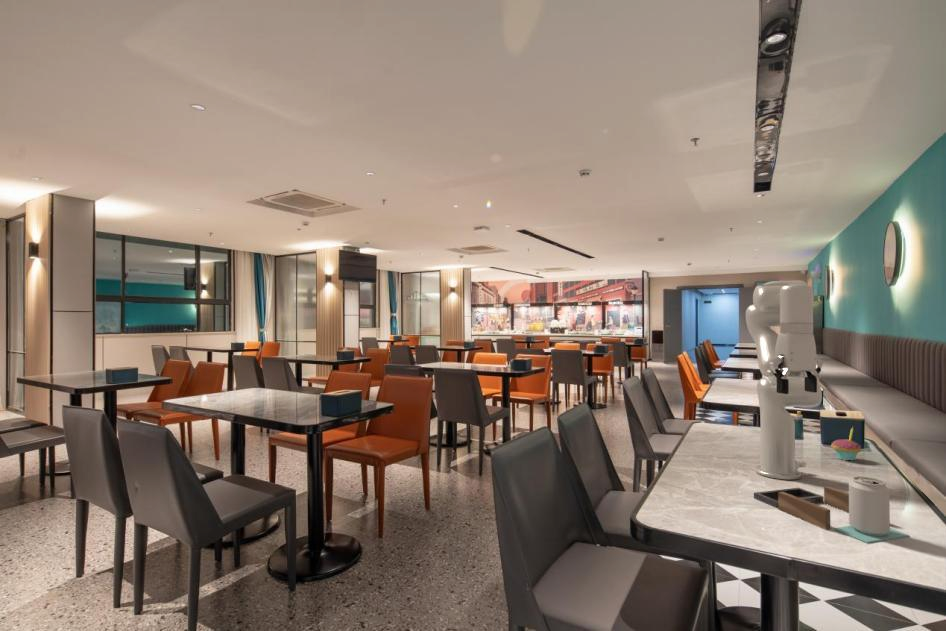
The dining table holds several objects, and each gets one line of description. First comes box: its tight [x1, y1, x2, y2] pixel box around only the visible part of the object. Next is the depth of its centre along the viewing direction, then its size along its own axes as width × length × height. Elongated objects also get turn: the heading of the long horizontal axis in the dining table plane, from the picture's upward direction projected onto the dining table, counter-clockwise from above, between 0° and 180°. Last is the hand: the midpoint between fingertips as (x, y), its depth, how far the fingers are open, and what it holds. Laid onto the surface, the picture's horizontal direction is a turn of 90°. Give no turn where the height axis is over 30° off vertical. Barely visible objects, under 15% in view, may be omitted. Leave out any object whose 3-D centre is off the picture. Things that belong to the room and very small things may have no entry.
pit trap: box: [753, 487, 824, 509], centre depth 136 cm, size 16×8×2 cm, turn 105°
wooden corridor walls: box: [778, 486, 849, 531], centre depth 126 cm, size 17×13×4 cm
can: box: [848, 475, 891, 536], centre depth 116 cm, size 8×8×12 cm
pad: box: [833, 525, 910, 544], centre depth 115 cm, size 13×8×1 cm, turn 105°
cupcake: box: [830, 426, 862, 461], centre depth 176 cm, size 9×8×12 cm
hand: (796, 392), depth 134 cm, fingers open, 9 cm apart
